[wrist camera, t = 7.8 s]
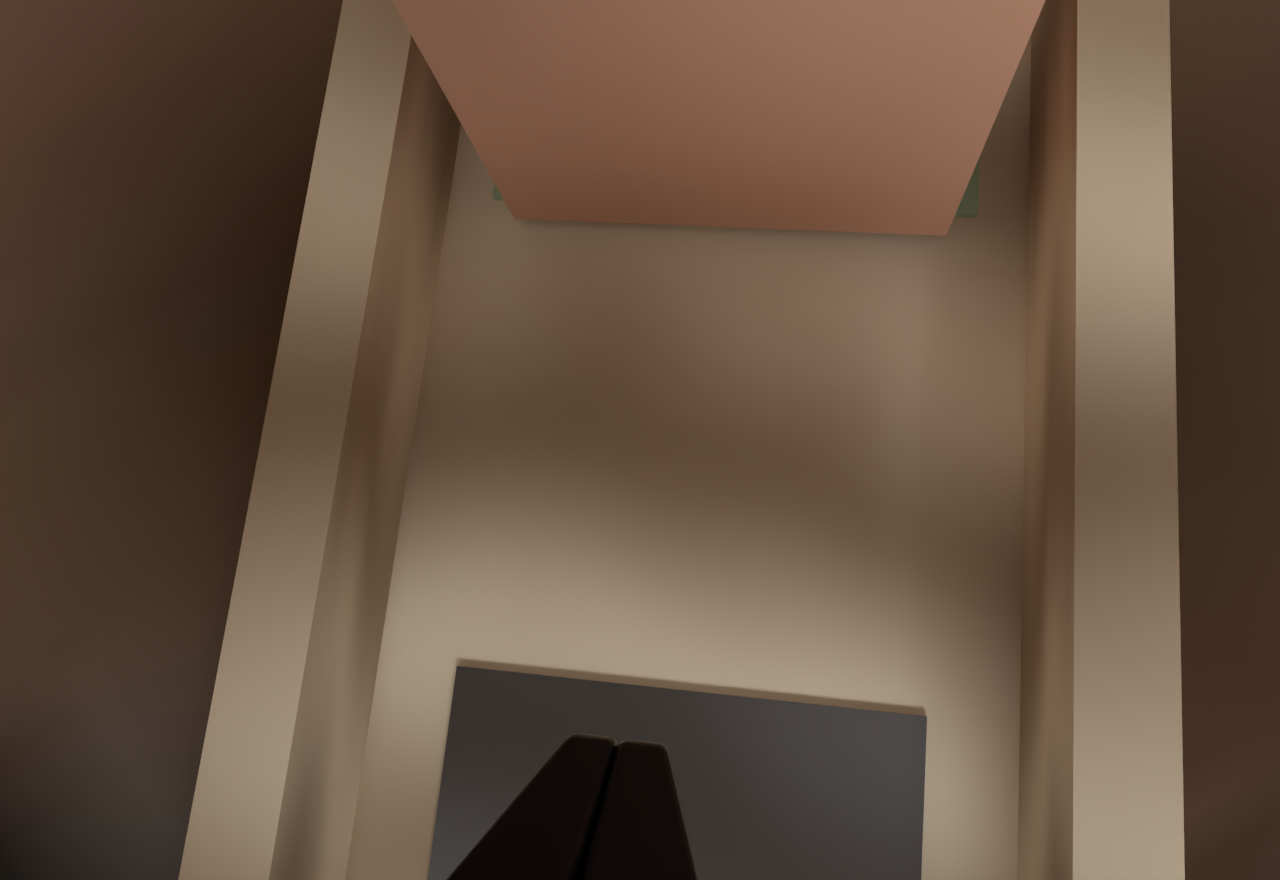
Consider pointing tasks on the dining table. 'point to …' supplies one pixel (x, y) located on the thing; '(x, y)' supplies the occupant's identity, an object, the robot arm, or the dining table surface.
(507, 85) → the block
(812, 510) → the beige tray
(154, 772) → the dining table surface
